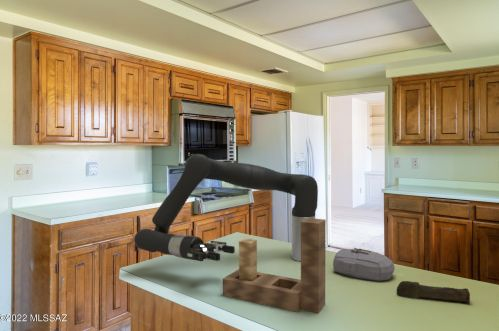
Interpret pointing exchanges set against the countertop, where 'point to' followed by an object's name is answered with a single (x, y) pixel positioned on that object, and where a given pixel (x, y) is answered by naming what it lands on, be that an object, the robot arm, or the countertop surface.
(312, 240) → the wooden peg socket stand
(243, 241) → the rail bar
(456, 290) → the hand tool
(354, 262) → the small grey backpack
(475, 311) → the countertop surface
